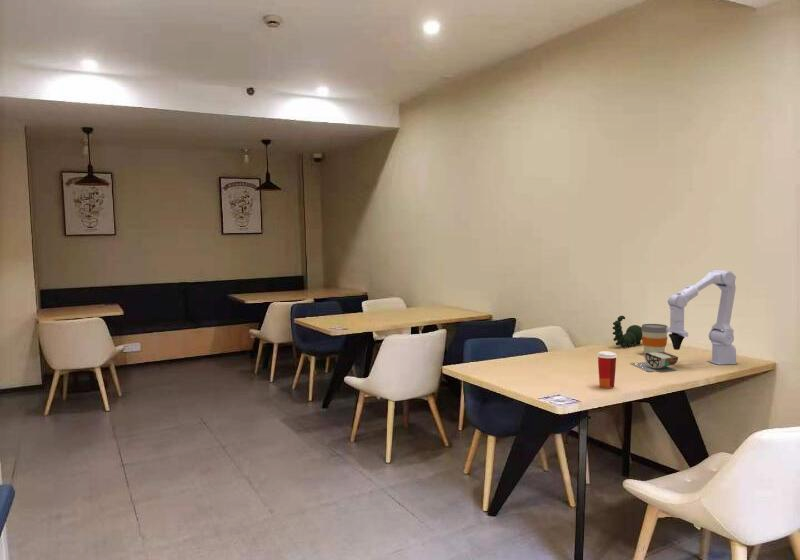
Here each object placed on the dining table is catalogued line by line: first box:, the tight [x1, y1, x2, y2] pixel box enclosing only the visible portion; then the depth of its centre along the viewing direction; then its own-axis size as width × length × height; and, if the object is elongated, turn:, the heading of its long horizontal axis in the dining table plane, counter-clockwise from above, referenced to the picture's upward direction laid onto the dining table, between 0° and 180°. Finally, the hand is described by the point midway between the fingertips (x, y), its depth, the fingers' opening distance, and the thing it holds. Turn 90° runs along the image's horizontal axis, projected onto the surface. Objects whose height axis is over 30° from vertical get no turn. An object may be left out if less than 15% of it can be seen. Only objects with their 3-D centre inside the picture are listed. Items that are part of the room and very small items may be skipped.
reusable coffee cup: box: [641, 323, 668, 353], centre depth 285 cm, size 13×13×15 cm
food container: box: [643, 351, 679, 369], centre depth 256 cm, size 12×6×10 cm
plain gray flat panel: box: [630, 361, 677, 373], centre depth 260 cm, size 13×17×1 cm
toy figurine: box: [612, 315, 642, 348], centre depth 308 cm, size 9×19×25 cm
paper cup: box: [596, 350, 618, 389], centre depth 229 cm, size 8×8×14 cm
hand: (676, 349), depth 260 cm, fingers closed
